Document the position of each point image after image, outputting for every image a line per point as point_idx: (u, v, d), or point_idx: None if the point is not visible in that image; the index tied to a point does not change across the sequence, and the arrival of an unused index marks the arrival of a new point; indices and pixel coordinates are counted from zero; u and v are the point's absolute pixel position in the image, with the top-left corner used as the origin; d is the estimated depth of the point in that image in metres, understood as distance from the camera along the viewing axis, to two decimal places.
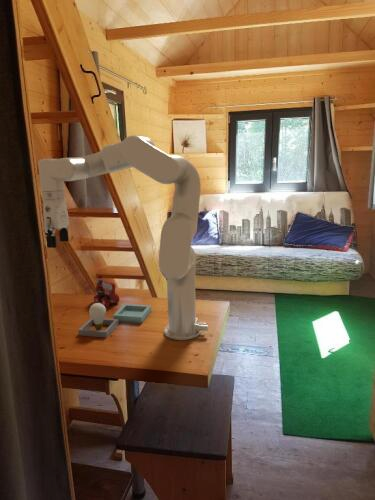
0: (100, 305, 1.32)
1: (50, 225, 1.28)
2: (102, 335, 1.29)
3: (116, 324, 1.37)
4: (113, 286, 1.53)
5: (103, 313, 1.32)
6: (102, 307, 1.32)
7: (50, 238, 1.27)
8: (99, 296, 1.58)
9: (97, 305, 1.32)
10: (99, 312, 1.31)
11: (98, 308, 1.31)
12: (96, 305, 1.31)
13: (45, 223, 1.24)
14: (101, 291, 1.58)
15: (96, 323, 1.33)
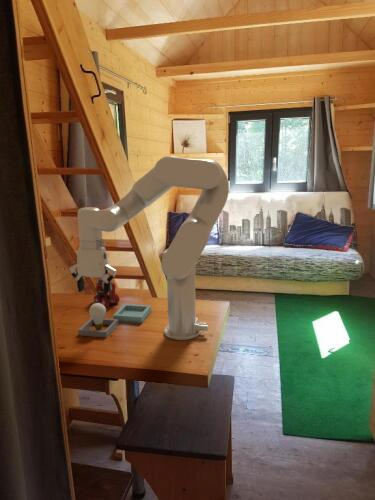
0: (100, 305, 1.32)
1: None
2: (102, 335, 1.29)
3: (116, 324, 1.37)
4: (113, 286, 1.53)
5: (103, 313, 1.32)
6: (102, 307, 1.32)
7: (109, 283, 1.30)
8: (99, 296, 1.58)
9: (97, 305, 1.32)
10: (99, 312, 1.31)
11: (98, 308, 1.31)
12: (96, 305, 1.31)
13: (113, 269, 1.28)
14: (101, 291, 1.58)
15: (96, 323, 1.33)
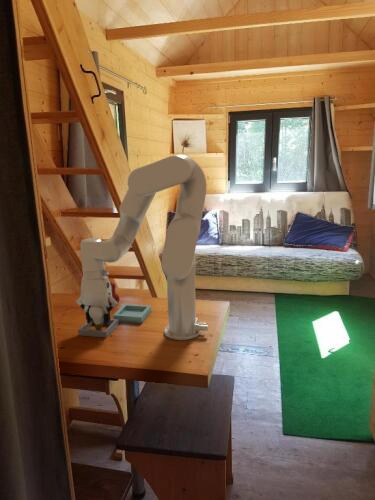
0: None
1: None
2: (102, 335, 1.29)
3: (116, 324, 1.37)
4: (113, 286, 1.53)
5: (103, 313, 1.32)
6: None
7: (109, 313, 1.33)
8: None
9: None
10: (99, 312, 1.31)
11: (98, 308, 1.31)
12: None
13: (115, 301, 1.31)
14: None
15: (96, 323, 1.33)
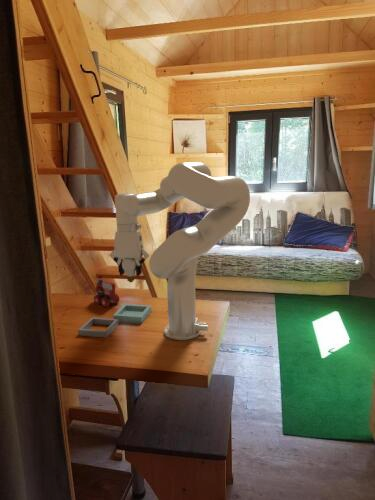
0: None
1: None
2: (102, 335, 1.29)
3: (116, 324, 1.37)
4: (113, 286, 1.53)
5: (135, 265, 1.39)
6: (134, 260, 1.39)
7: (141, 266, 1.40)
8: (99, 296, 1.58)
9: None
10: (132, 264, 1.38)
11: (130, 260, 1.38)
12: (129, 258, 1.39)
13: (147, 253, 1.38)
14: (101, 291, 1.58)
15: (128, 275, 1.40)
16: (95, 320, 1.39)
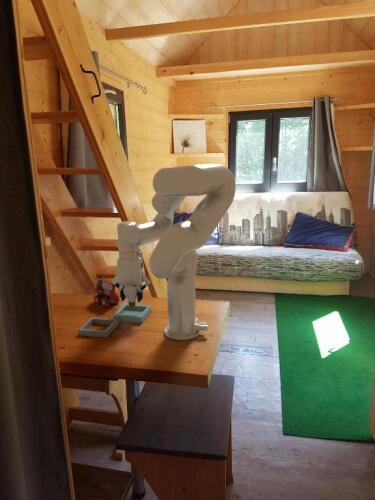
0: None
1: None
2: (102, 335, 1.29)
3: (116, 324, 1.37)
4: (113, 286, 1.53)
5: (137, 291, 1.41)
6: None
7: (142, 292, 1.43)
8: (99, 296, 1.58)
9: None
10: (133, 290, 1.40)
11: (132, 287, 1.41)
12: None
13: (148, 280, 1.40)
14: (101, 291, 1.58)
15: (130, 301, 1.43)
16: (95, 320, 1.39)
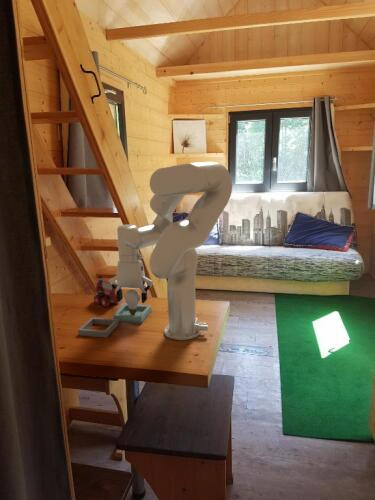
0: (135, 291, 1.42)
1: None
2: (102, 335, 1.29)
3: (116, 324, 1.37)
4: None
5: (138, 299, 1.42)
6: (137, 293, 1.42)
7: (146, 293, 1.42)
8: (99, 296, 1.58)
9: (132, 291, 1.42)
10: (134, 298, 1.41)
11: (133, 294, 1.41)
12: (132, 291, 1.42)
13: (150, 280, 1.40)
14: (101, 291, 1.58)
15: (131, 308, 1.43)
16: (95, 320, 1.39)
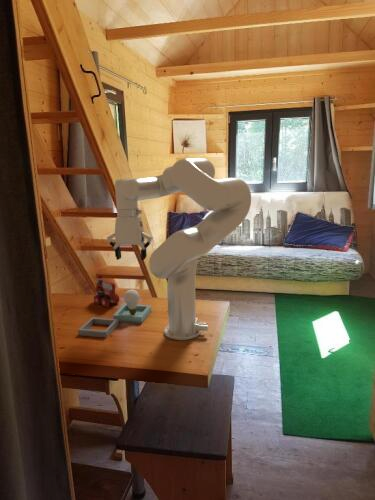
0: (134, 291, 1.42)
1: None
2: (102, 335, 1.29)
3: (116, 324, 1.37)
4: (113, 286, 1.53)
5: (137, 298, 1.42)
6: (136, 293, 1.42)
7: (145, 250, 1.38)
8: (99, 296, 1.58)
9: (131, 291, 1.42)
10: (133, 297, 1.41)
11: (132, 294, 1.41)
12: (130, 291, 1.42)
13: (149, 235, 1.36)
14: (101, 291, 1.58)
15: (130, 308, 1.43)
16: (95, 320, 1.39)
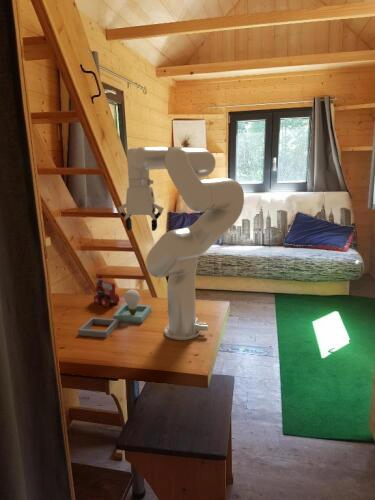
0: (135, 291, 1.42)
1: None
2: (102, 335, 1.29)
3: (116, 324, 1.37)
4: (113, 286, 1.53)
5: (137, 299, 1.42)
6: (136, 293, 1.42)
7: (156, 221, 1.39)
8: (99, 296, 1.58)
9: (132, 291, 1.42)
10: (134, 298, 1.41)
11: (133, 294, 1.41)
12: (131, 291, 1.42)
13: (160, 206, 1.37)
14: (101, 291, 1.58)
15: (131, 308, 1.43)
16: (95, 320, 1.39)
